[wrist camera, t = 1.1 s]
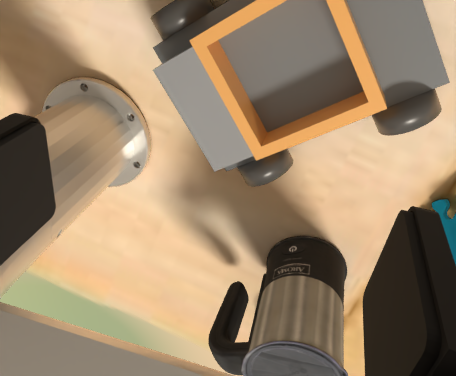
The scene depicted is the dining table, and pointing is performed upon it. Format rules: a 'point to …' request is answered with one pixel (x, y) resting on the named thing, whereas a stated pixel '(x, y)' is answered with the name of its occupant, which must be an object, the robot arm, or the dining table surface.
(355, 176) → the dining table surface
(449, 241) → the gear
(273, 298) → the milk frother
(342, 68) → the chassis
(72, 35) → the dining table surface
